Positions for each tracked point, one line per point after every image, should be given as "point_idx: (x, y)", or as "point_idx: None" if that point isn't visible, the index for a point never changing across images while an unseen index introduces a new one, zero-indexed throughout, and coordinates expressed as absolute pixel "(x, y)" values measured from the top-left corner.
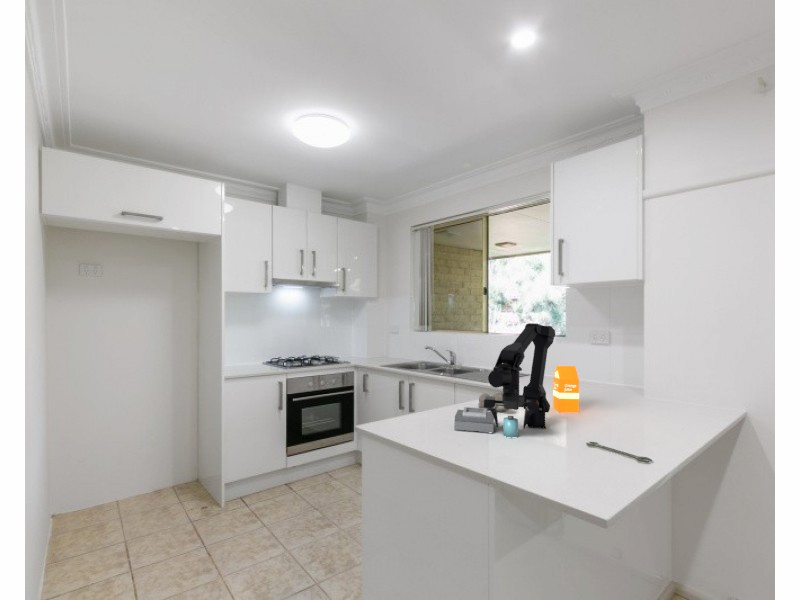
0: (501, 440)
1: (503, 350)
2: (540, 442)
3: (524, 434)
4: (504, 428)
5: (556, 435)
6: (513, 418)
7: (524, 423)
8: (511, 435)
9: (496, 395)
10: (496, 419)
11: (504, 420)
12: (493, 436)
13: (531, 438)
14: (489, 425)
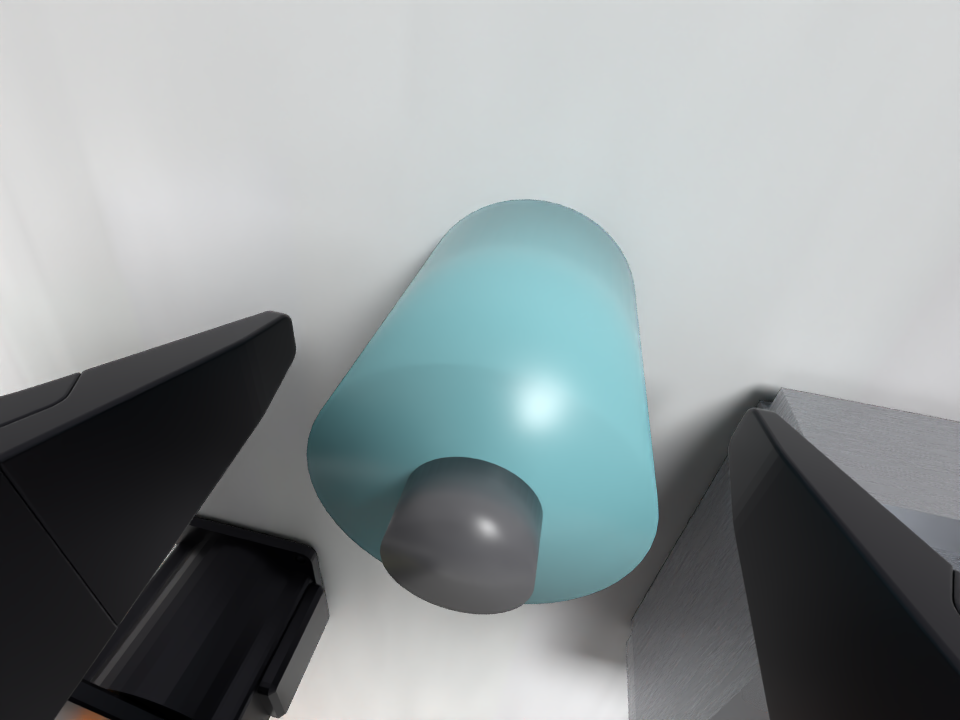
0: (774, 11)
1: None
2: (94, 33)
3: (341, 374)
4: (636, 339)
5: (41, 358)
6: (397, 504)
7: (199, 358)
8: (523, 216)
9: None
10: (866, 531)
11: (648, 461)
12: (831, 261)
13: (247, 226)
14: (894, 486)
